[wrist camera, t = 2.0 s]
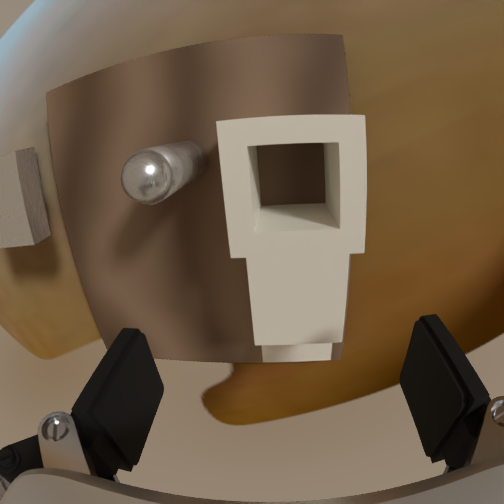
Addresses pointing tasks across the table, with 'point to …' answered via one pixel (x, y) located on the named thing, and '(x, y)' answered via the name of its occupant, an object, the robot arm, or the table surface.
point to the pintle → (162, 170)
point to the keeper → (21, 200)
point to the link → (296, 231)
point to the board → (193, 194)
